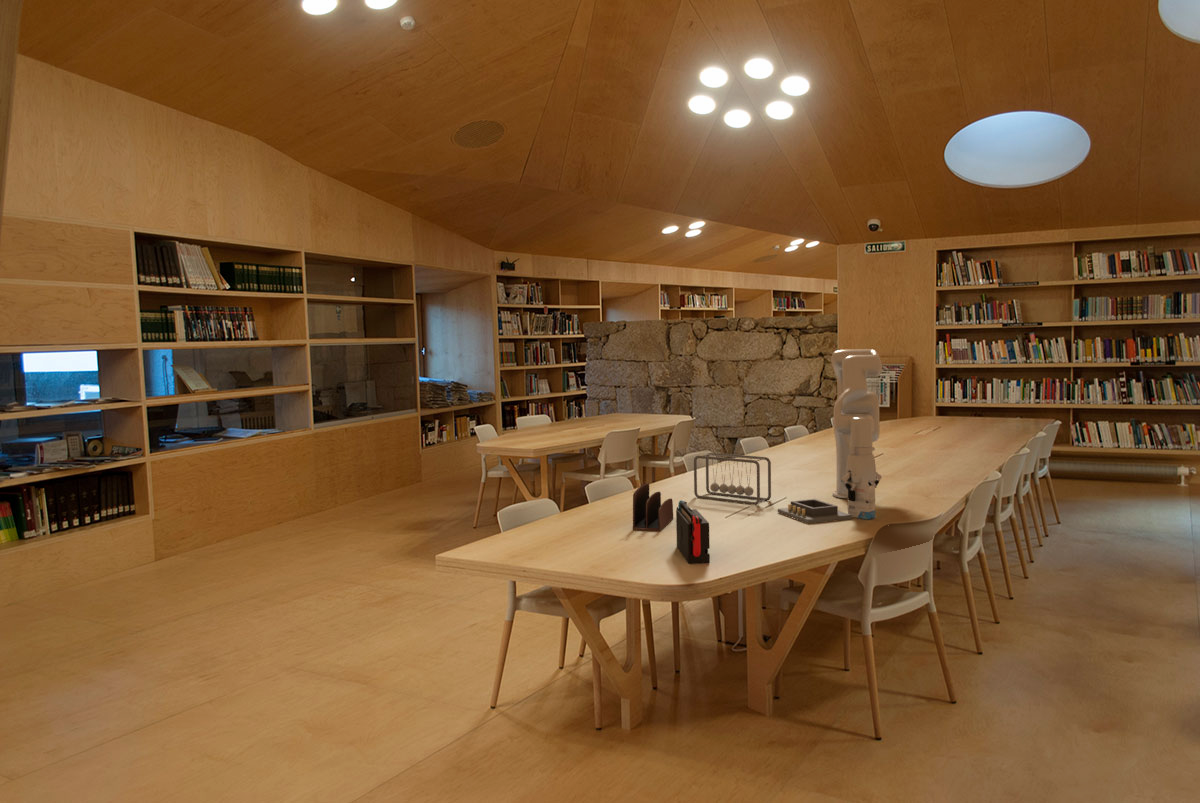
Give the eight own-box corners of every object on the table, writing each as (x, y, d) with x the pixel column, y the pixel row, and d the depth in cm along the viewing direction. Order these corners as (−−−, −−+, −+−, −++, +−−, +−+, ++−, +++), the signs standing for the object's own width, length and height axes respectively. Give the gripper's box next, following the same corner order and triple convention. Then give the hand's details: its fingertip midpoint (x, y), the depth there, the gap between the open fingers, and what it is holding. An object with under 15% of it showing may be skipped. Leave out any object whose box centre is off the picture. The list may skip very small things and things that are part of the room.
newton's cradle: (693, 497, 336) (693, 455, 334) (707, 493, 344) (706, 452, 342) (759, 505, 317) (758, 460, 315) (771, 501, 325) (771, 457, 324)
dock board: (819, 508, 309) (819, 496, 308) (851, 518, 290) (851, 506, 290) (777, 512, 303) (777, 500, 303) (807, 523, 284) (807, 511, 284)
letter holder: (632, 530, 282) (631, 490, 281) (647, 518, 300) (646, 480, 299) (660, 532, 279) (659, 491, 277) (673, 519, 297) (673, 481, 296)
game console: (674, 543, 262) (673, 499, 261) (694, 543, 262) (693, 498, 261) (690, 568, 234) (690, 518, 233) (712, 567, 234) (711, 517, 233)
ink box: (876, 517, 291) (876, 477, 290) (868, 520, 288) (868, 479, 286) (855, 514, 297) (855, 474, 296) (847, 516, 294) (847, 476, 293)
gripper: (875, 448, 297) (875, 495, 298) (834, 451, 291) (834, 500, 293) (888, 450, 290) (888, 499, 291) (847, 454, 284) (847, 503, 286)
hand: (861, 499), depth 292 cm, fingers open, 7 cm apart
